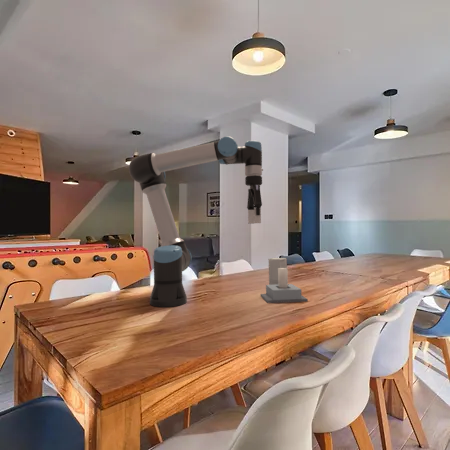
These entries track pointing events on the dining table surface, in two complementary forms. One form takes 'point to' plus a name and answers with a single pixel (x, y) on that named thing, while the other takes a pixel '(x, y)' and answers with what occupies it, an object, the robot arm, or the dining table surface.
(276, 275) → the skincare box
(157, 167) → the robot arm
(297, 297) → the socket
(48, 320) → the dining table surface
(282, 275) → the dowel
